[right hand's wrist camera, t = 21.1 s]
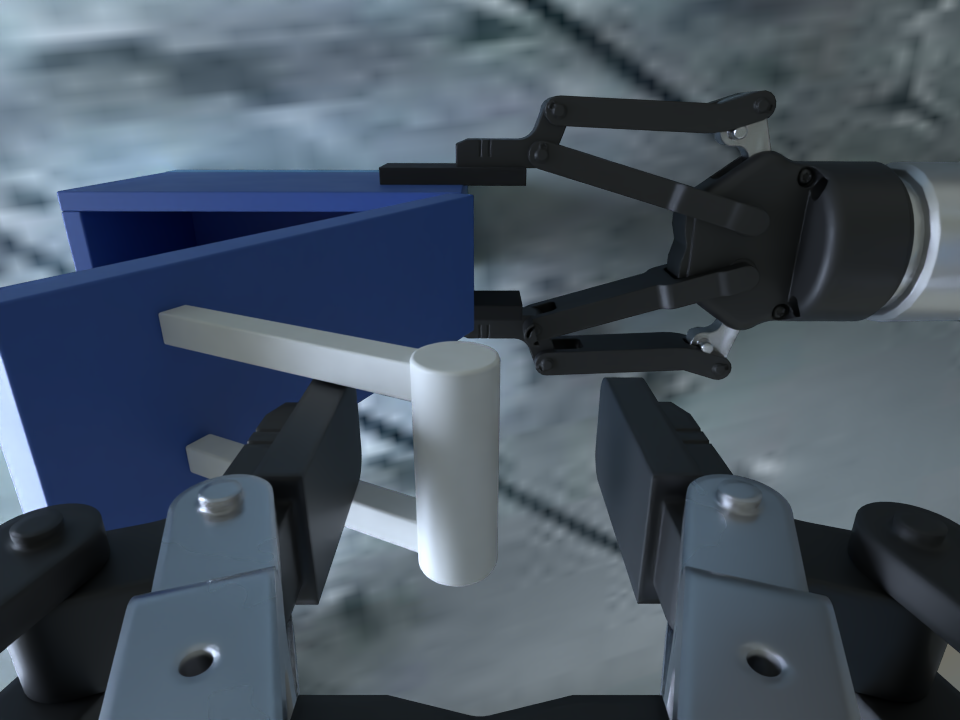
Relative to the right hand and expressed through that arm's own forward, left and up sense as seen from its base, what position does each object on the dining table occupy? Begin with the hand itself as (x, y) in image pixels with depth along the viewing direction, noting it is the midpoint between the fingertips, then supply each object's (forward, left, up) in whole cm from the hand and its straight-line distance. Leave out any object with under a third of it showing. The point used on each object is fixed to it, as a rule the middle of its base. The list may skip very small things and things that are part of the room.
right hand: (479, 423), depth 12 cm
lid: (-1, -5, -7) cm, 8 cm away
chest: (-1, -9, -25) cm, 27 cm away
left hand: (0, -4, -19) cm, 19 cm away
